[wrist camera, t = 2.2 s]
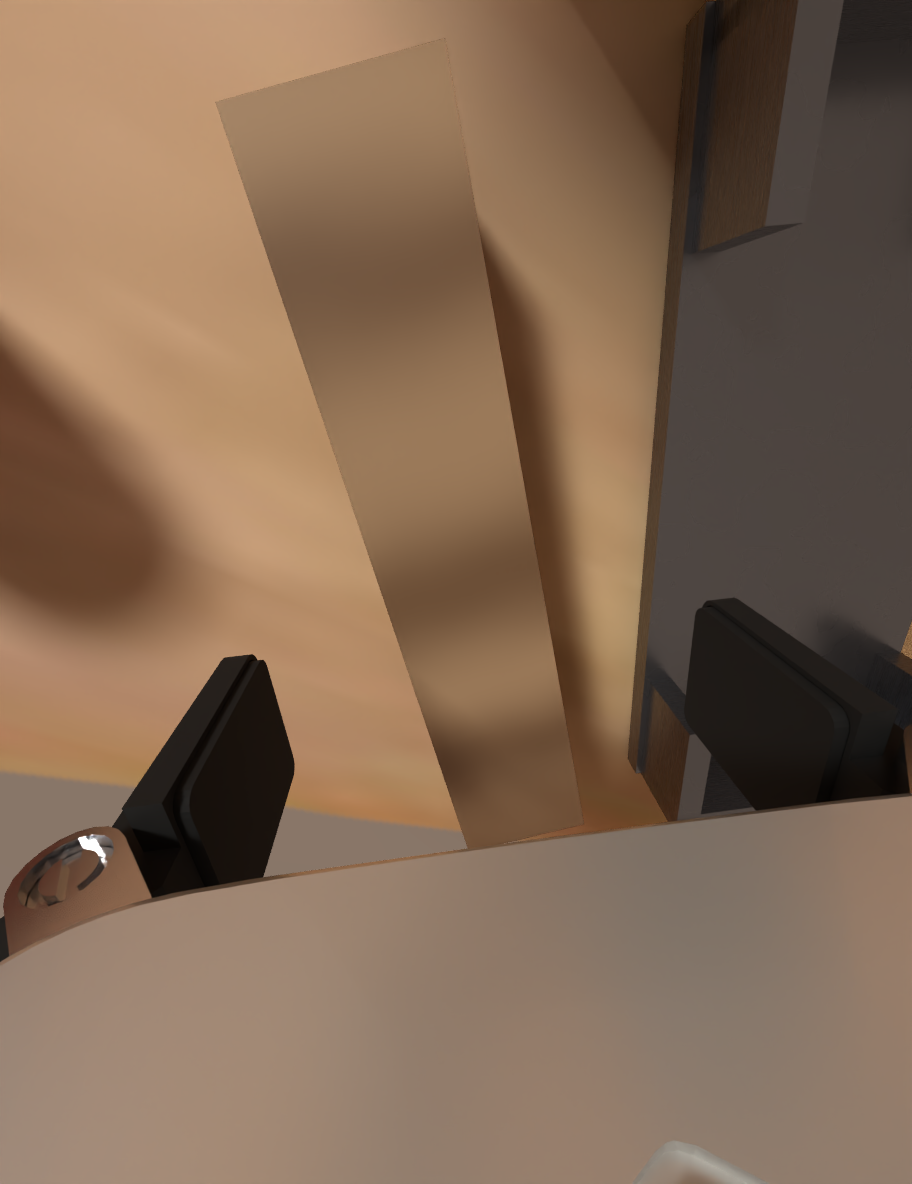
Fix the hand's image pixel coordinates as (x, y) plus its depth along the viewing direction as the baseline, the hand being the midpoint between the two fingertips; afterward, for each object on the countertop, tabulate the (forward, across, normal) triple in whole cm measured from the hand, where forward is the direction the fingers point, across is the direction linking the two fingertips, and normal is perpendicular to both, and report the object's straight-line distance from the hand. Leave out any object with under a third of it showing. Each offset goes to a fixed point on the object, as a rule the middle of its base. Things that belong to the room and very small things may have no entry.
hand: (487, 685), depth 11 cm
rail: (+10, 0, -1) cm, 10 cm away
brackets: (+10, -14, -1) cm, 17 cm away
